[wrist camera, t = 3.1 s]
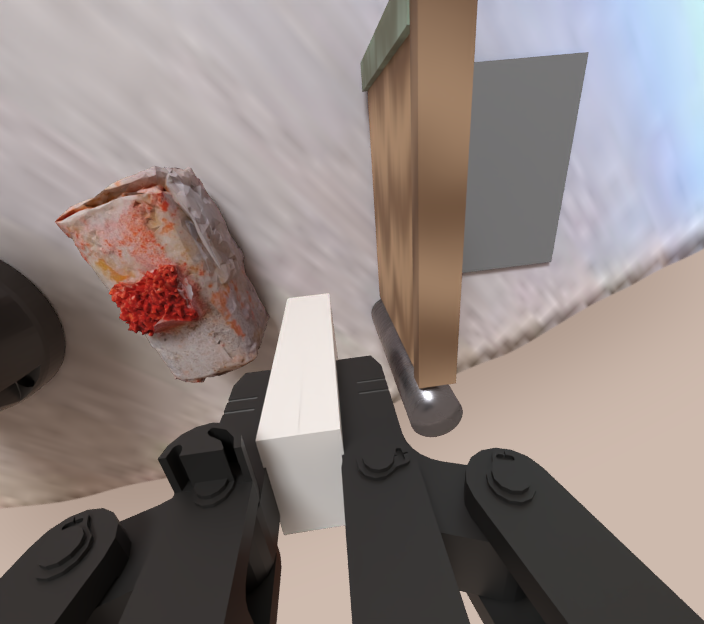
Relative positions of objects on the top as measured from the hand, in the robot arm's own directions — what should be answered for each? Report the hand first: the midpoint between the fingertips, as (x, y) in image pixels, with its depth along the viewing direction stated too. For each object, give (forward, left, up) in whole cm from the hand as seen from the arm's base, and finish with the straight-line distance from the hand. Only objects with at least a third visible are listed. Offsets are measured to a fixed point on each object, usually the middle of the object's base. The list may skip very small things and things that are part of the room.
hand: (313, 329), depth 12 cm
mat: (+16, +3, -17) cm, 23 cm away
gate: (+6, +3, -16) cm, 17 cm away
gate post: (+6, -8, -17) cm, 19 cm away
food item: (-9, -1, -17) cm, 19 cm away
